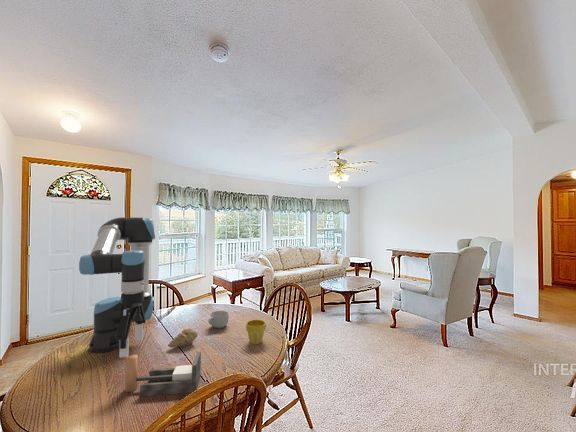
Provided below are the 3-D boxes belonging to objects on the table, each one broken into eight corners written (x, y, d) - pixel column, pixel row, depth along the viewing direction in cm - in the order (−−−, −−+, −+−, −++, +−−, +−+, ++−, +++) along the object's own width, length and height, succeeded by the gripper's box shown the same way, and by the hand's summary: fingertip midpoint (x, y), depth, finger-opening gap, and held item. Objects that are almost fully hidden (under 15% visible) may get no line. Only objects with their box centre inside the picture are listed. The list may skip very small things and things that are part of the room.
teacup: (221, 321, 175) (221, 309, 175) (232, 326, 168) (232, 312, 168) (201, 328, 164) (202, 314, 164) (212, 333, 157) (213, 319, 157)
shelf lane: (140, 396, 101) (140, 368, 101) (150, 379, 112) (150, 354, 112) (195, 392, 104) (196, 365, 104) (200, 376, 114) (200, 351, 115)
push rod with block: (122, 394, 102) (122, 361, 103) (128, 384, 108) (129, 353, 108) (191, 388, 106) (191, 357, 106) (194, 379, 112) (194, 349, 112)
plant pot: (260, 347, 141) (260, 327, 141) (242, 344, 144) (242, 325, 144) (268, 339, 151) (268, 320, 151) (251, 336, 154) (251, 318, 154)
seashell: (173, 354, 133) (173, 337, 133) (164, 348, 138) (165, 332, 138) (198, 344, 144) (198, 328, 144) (189, 339, 149) (190, 324, 149)
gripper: (129, 300, 94) (128, 364, 94) (153, 284, 119) (153, 334, 118) (105, 301, 93) (104, 365, 93) (135, 284, 118) (134, 335, 117)
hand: (131, 348), depth 106 cm, fingers open, 13 cm apart
